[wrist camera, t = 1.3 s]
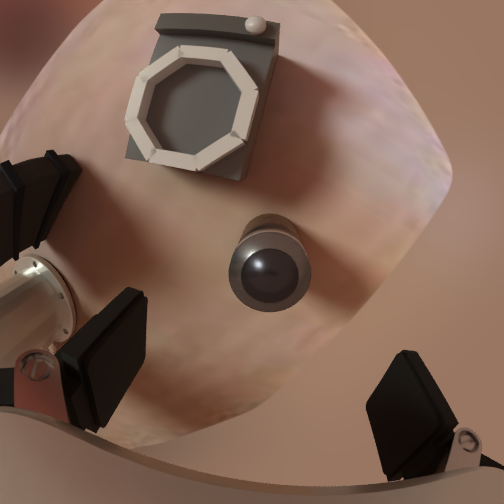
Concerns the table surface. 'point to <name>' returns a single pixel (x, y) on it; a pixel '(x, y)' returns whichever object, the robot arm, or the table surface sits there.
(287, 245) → the lens
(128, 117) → the camera body
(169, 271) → the table surface
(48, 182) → the black device
